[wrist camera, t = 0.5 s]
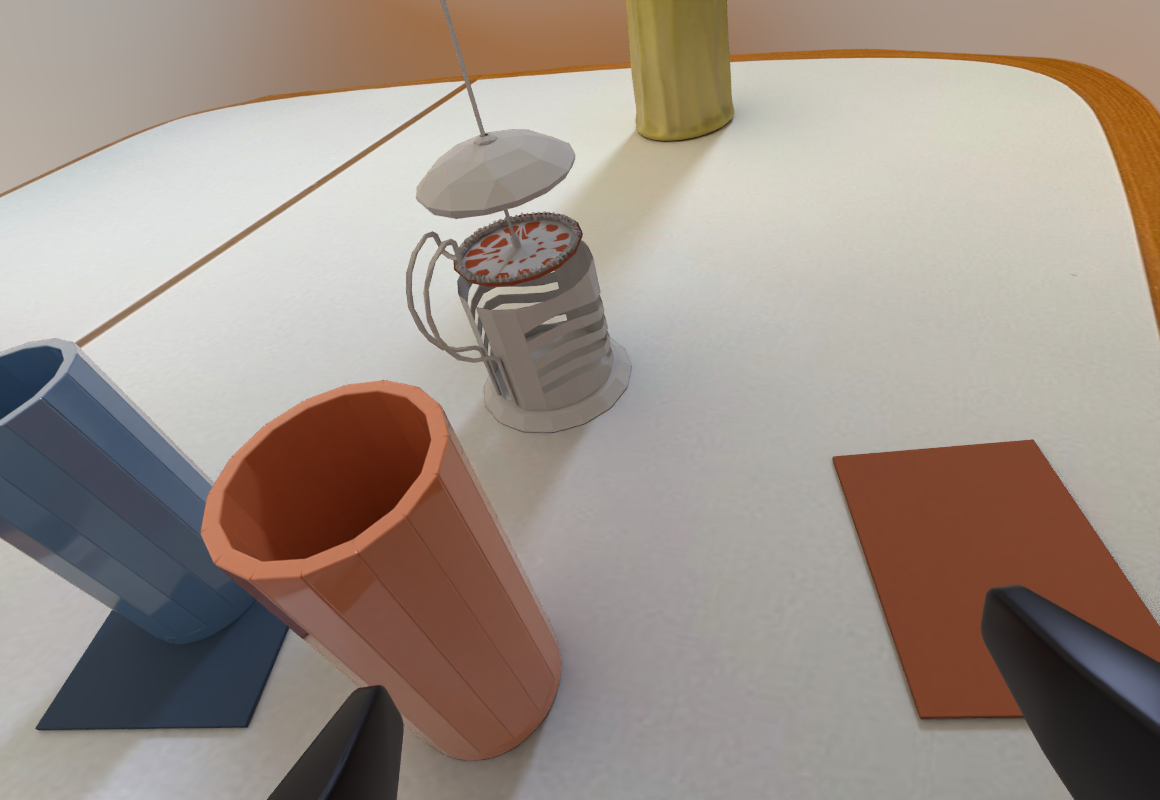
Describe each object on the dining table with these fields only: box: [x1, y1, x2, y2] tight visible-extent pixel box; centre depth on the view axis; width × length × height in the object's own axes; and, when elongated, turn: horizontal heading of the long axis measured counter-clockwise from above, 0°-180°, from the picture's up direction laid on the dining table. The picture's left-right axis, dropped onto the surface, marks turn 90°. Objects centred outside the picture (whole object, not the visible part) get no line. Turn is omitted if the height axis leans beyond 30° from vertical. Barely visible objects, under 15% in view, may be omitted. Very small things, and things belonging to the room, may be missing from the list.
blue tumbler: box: [0, 338, 256, 644], centre depth 26 cm, size 7×7×14 cm
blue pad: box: [35, 600, 289, 730], centre depth 31 cm, size 14×11×1 cm
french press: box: [406, 0, 632, 432], centre depth 29 cm, size 10×12×25 cm
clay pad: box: [833, 440, 1160, 719], centre depth 24 cm, size 12×9×1 cm
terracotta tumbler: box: [201, 380, 561, 761], centre depth 20 cm, size 7×7×14 cm
